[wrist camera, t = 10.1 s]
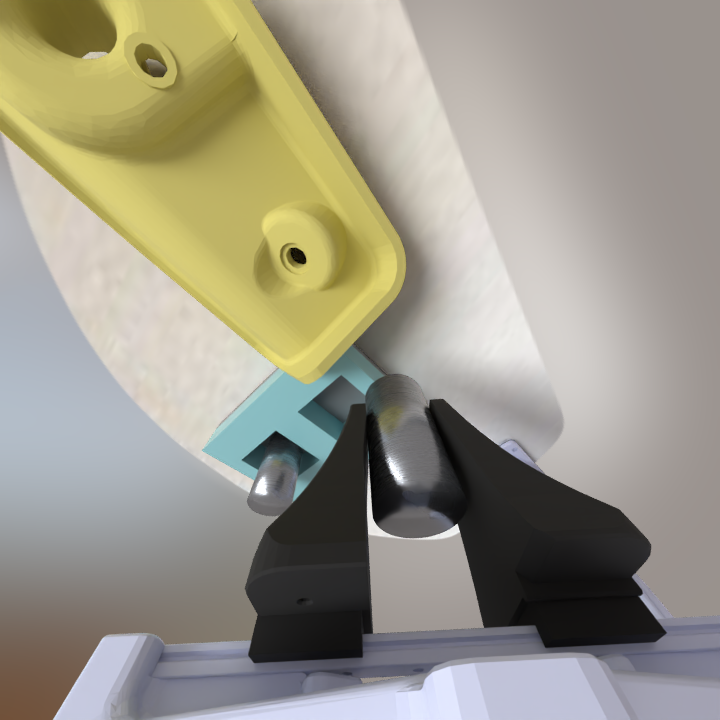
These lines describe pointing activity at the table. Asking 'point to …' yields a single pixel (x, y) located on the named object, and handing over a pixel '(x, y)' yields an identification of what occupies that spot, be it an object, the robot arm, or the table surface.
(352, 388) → the housing
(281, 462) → the peg
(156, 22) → the plastic component
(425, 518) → the peg
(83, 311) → the table surface
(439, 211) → the table surface
